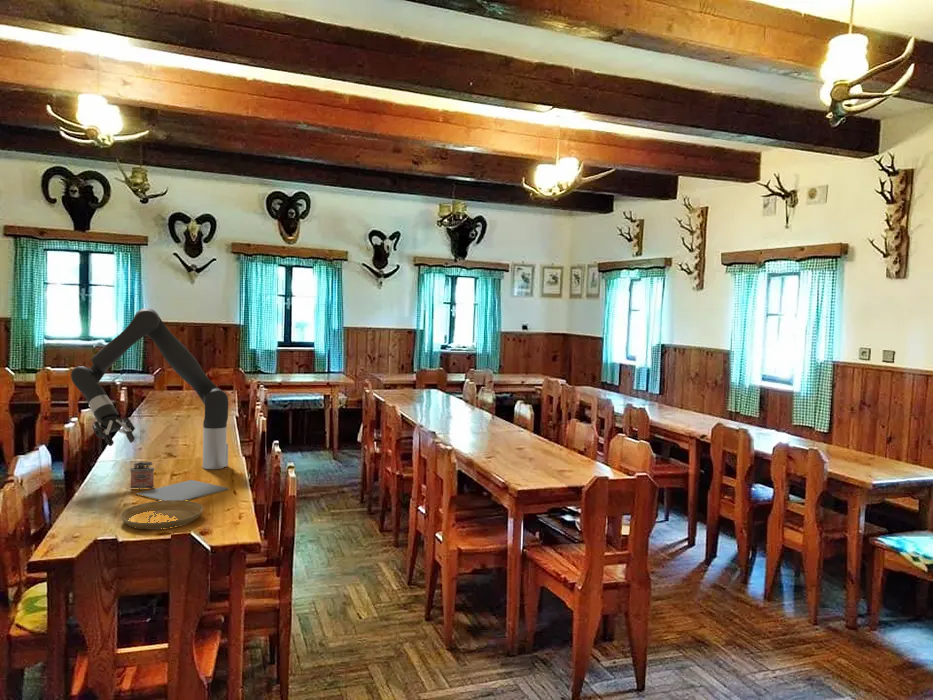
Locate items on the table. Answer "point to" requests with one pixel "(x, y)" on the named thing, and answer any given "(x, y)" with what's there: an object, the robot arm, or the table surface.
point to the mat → (183, 491)
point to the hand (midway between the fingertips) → (122, 442)
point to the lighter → (142, 475)
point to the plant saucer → (164, 513)
